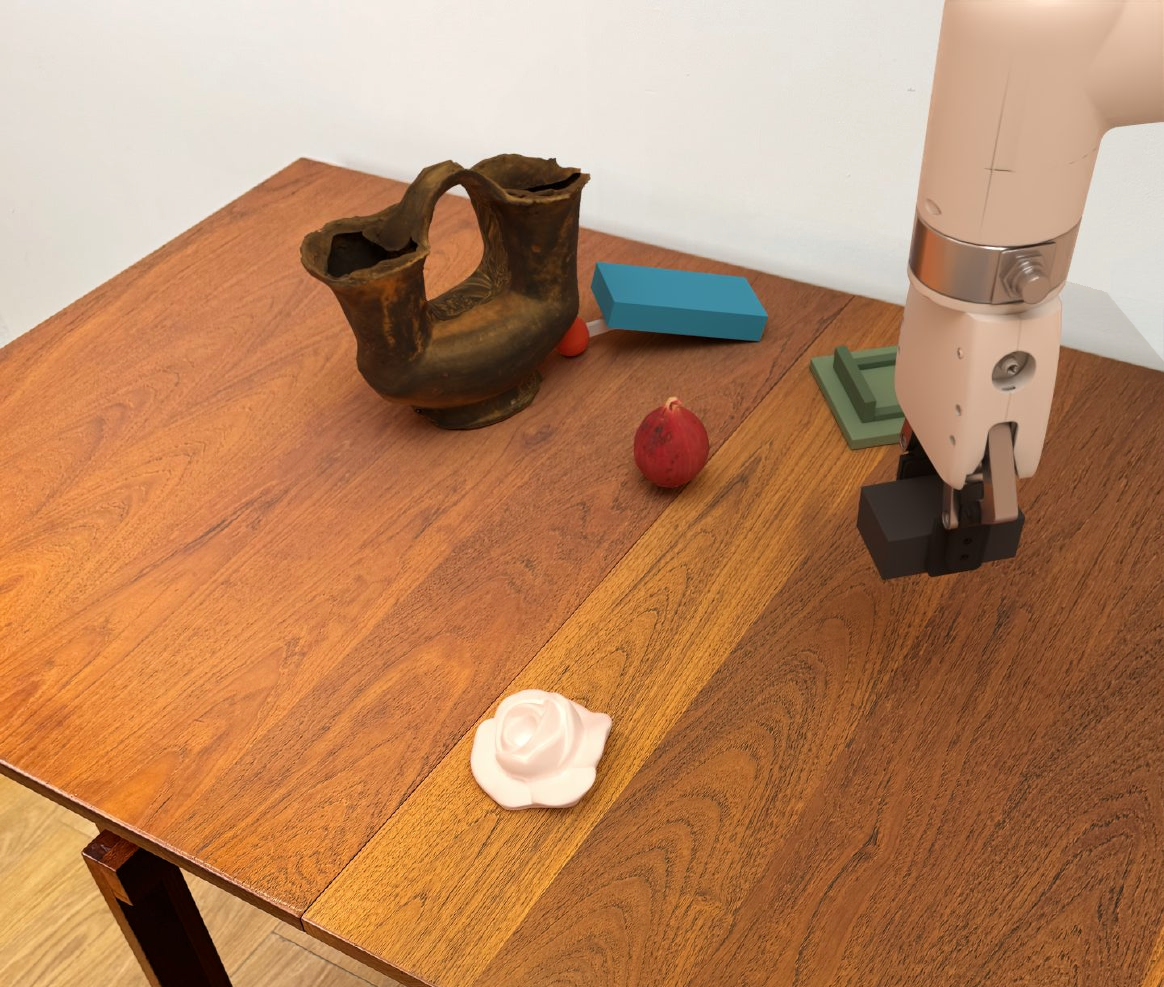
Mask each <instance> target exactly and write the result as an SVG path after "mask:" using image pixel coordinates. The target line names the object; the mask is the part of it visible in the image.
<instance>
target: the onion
mask: <svg viewBox="0 0 1164 987" xmlns="http://www.w3.org/2000/svg"><path fill="white" fill-rule="evenodd" d="M682 404H683V402H682V399H681V398H679V397H677V395H676V396H670V397H668V398H667V399H666V401H664V403H663V405H662V406H659V407H657V408H655V409H653V410H652V411H651V412H649V413H648V414H647V415H645V417H644V418H643V420H642V421H641V423H640V424H639V426H638V427H637V429H636V431H635V434H634V438H633V458H634V462H635V465H636V466H637V467H638V470H639V471H640V473H641V474H642V475H643V477H644V478H645V479H646V480H648V481H650V482H651V483H653V484H654V485H656V486H658V487H663V488H671V489H675V488H677V487H680V486H682V485H684V484H687V483H689V482H690V481H692V480H693V479H694V478H696V477H697V476H698V475H700V473H701V472H702V471H703V469H704V467H705V465H706V463H707V461H708V459H709V454H710V448H711V447H710V438H709V435H708V431H707V429H706V427H705V425H704V423H703V422H702V421H701V419H700V418H699V417H698V416H697V415H696V414H695V413H693V411H691V410H689V409H687V408H685V407H683V406H682Z"/></svg>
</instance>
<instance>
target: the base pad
mask: <svg viewBox="0 0 1164 987" xmlns="http://www.w3.org/2000/svg"><path fill="white" fill-rule="evenodd" d="M897 349H898V344H895V345H889V346H882V347H876V348H869V349H863V350H854V351H850V350H849V348H848V346H847V344H845V345H838V346H835V347H834V353H833V354H827V355H822V356H815V357H810V359H809V360H810V362H809V369H810V371H811V373H812V375H813V378H814V379H815V381H816V383H817V385H818V387H819V389H820V391H821V393H822V395H823V397H824V399H825V401H826V403H827V405H828V407H829V409H830V411H831V413H832V415H833V417H834V419H835V421H836V424H837V425H838V427H839V429H840V431H841V433H842V435H843V437H844V439H845V442H846V443H847V445H848V447H849V449H850V450H851V451H854V450H859V449H860V450H861V449H866V448H874V447H880V446H887V445H892V444H893V445H894V444H898V443H899V444H900V439H899V438H900V432H901V429H902V426H903V423H904V420H905V414H904V412H903V410H902V408H901V406H900V404H899V402H898V399H897V396H896V392H895V366H896V356H897Z"/></svg>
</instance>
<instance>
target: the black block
mask: <svg viewBox="0 0 1164 987" xmlns="http://www.w3.org/2000/svg"><path fill="white" fill-rule="evenodd" d="M982 484H983V483H978V484H972V485H966V486H963V488H962V489H961V502H960V505H961V504H964V503H967V502H971V501H976V500H981V498H982ZM943 485H944V480H943V479H942V478H941V477H940V475H939V474H933V475H927V476H921V477H915V478H909V479H903V480H897V481H896V480H893V481H886V482H880V483H875V484H874V483H873V484H869V485H868V484H867V485H862V486H861V487H860V493H859V500H858V502H859V503H858V510H857V517H856V525H855V526H856V528H857V531H858V533H859V535H860V536H861V538H862V541H863V542H864V543H863V544H864V545H865V547H866V549H867V551H868V553H869V555H870V557H871V560H872V562H873V563H874V566H875V568H876V570H877V572H878V573H879V576H880V579H881V580H882V581H886V580H892V579H899V578H904V577H909V576H916V575H922V574H928V573H927V571H926V569H925V566H926V560H927V555H928V550H929V544H930V539H931V533H932V528H933V523H934V518H937V517H940V516H942V504H943ZM1025 521H1026V515H1025V514H1024V513H1023V511H1022V509H1021V508H1020V506H1019V505H1018V518H1017V519H1016V520H1014V521H1008V522H1002V523H997V524H991V528H990V533H989V537H988V541H987V545H986V550H985V554H984V558H983V563H982V564H984V563H991V562H996V561H1002V560H1006V559H1007V560H1008V559H1012V558H1013V559H1014V558H1016V555H1017V552H1018V548H1019V544H1020V540H1021V536H1022V533H1023V529H1024V525H1025Z"/></svg>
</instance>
